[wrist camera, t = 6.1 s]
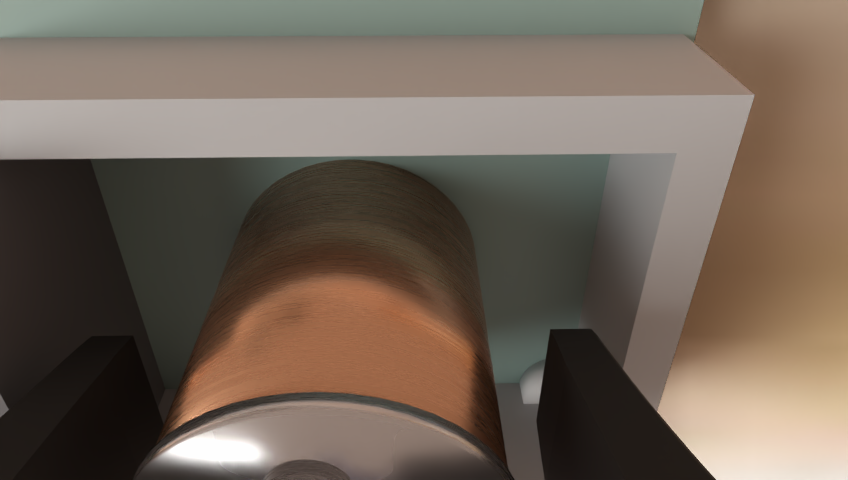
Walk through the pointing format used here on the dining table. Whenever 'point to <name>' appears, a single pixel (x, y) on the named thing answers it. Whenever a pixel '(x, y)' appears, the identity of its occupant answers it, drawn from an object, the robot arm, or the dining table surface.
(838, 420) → the dining table surface
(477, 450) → the spout can
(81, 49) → the grey green open box
